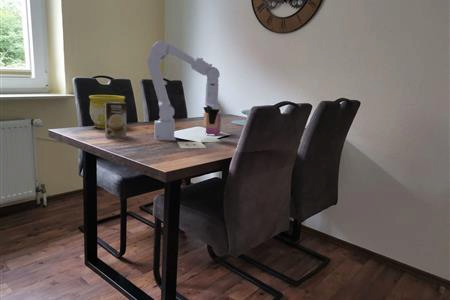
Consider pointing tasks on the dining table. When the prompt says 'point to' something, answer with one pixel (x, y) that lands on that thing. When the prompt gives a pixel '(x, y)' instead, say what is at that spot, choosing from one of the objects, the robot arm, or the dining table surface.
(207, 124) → the block
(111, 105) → the coffee box
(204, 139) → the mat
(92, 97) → the flowerpot
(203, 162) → the dining table surface
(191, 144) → the plate
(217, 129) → the box
